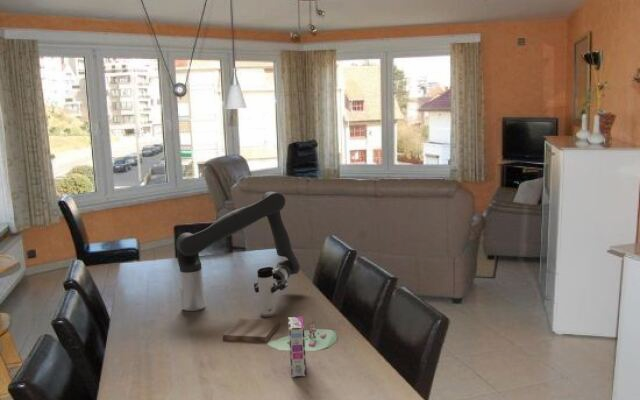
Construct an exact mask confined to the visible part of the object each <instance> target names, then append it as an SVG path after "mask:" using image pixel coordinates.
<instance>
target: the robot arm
mask: <svg viewBox="0 0 640 400" xmlns="http://www.w3.org/2000/svg"><path fill="white" fill-rule="evenodd" d="M285 205H286V197H285V196H284V195H283V194H282V193H280V192H278V191H266V192H265V193H264V194H262V197H261V200H259V201H257V202H255V203H253V204H250V205H246V206H244V207H240V208H237V209H234V210H232V211H230V212H228V213H225V214H224V215H222V216H220V217H219V218H217V219H216V220H215V221H214V222H213V223H211V224H210V225H209V226H208V227H207V228H204V229H203V230H201V231H198V232H195V233H191V232H183V233H181V234H180V235H179V236H178V237H177V239H176V243H175V245H176V254H177V262H178V266H179V275H180V283H181V284H180V285H181V287H180V288H179V291H180V292H179V293H180V294H179V295H180V303H181V304H180V305H181V310H183V311H187V312H195V311H200V310H203V309H204V308H205V307H206V301H205V291H204V290H205V289H204V280H203V279H204V278H203V268H202V267H203V266H202V261H201V258H200V255H199V254H200V252H202V251H204V250H205V249H207V248H208V247H210V246H211V245H213V244H215V243H217V242H220V241H222V240H223V239H226V238H228V237H230V236H232V235H234V234H236V233H238V232H240V231H242V230H244V229H245V228H247V227H248V226H251V225H252V224H255V223H256V222H257V221H259V220H261V219H263V218H266V217H267V221H268V224H269V226H270V227H269V228H270V230H271V234H272V238H273V242H274V246H275V250H276V254H277V256H278V257H284V258H286V259H285V260H284V259H283V260H280V261H277V263H276V267H275V269H274V268H273V270H272V272H273V285H274V286H273V287H272V288H271V292H272V293H274V294H275V293H276V292H279V291H283V290H285V289H286V288H287V287H288V279H289V278H290V276H292V275H297V274H299V273H300V271H301V267H300V266H301V265H300V263H299V260H298V258H297V257H296V256H295V253H294V251H293V248H292V244H291V240H290V236H289V234H288V232H287V229H286V227H285V224H284V222H283V219H282V216H281V215H282V214H281V210H283V208H285ZM253 289H254V291H255V293H256V294H259V289H258V279H256V280H255V282H254V283H253Z"/></svg>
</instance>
